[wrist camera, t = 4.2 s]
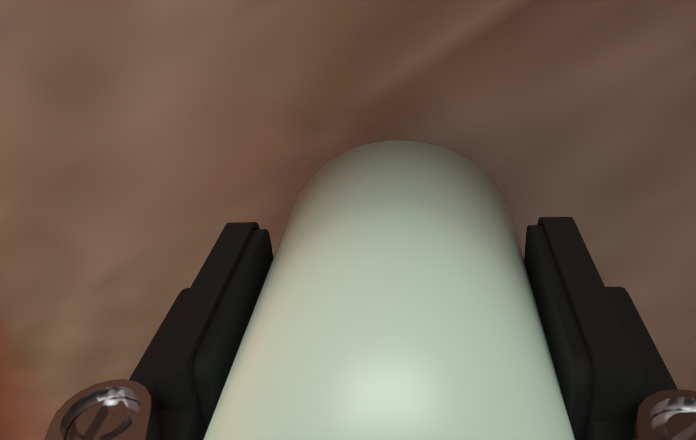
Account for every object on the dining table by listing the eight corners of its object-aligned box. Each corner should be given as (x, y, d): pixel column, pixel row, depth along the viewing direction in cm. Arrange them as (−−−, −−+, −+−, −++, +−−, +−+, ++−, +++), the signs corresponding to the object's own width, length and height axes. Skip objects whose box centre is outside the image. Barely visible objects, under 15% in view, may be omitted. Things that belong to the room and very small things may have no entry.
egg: (521, 135, 11) (642, 428, 5) (507, 333, 14) (581, 694, 8) (274, 144, 12) (124, 414, 6) (302, 331, 14) (214, 665, 8)
